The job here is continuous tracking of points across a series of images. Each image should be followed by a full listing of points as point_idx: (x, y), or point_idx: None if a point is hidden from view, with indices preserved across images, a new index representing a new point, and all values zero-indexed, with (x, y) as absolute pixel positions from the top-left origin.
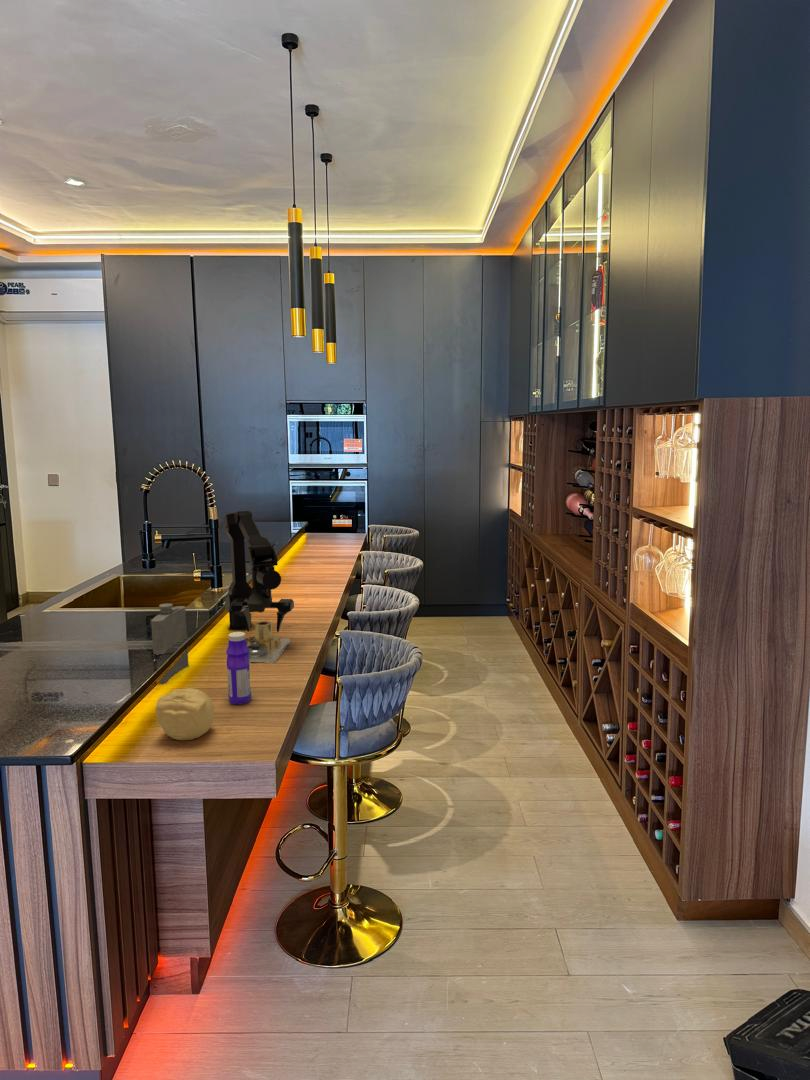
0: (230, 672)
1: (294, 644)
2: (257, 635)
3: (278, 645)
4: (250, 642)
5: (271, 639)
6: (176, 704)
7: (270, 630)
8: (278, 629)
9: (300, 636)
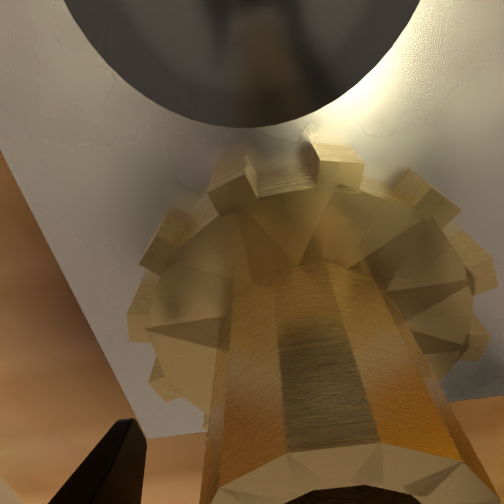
0: None
1: (94, 384)
2: (368, 313)
3: (134, 287)
4: (424, 199)
5: (218, 340)
6: None
7: (209, 424)
8: (93, 453)
9: (155, 498)
